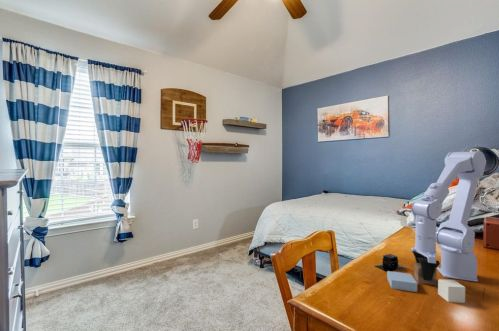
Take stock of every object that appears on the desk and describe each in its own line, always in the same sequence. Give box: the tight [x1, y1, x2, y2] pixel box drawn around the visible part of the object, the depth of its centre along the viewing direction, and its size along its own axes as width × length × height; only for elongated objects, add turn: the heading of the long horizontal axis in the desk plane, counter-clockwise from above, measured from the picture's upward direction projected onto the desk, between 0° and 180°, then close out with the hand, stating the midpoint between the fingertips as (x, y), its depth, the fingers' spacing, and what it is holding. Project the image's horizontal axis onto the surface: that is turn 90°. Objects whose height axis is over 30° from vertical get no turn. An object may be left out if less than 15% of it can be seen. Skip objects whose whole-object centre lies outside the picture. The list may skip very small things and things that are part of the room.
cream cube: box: [437, 278, 466, 304], centre depth 75 cm, size 4×4×4 cm
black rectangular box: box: [374, 253, 408, 273], centre depth 97 cm, size 13×8×5 cm, turn 111°
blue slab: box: [386, 271, 418, 293], centre depth 83 cm, size 7×7×3 cm
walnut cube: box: [413, 261, 437, 286], centre depth 86 cm, size 5×5×5 cm
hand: (424, 276), depth 86 cm, fingers closed on walnut cube, 5 cm apart
